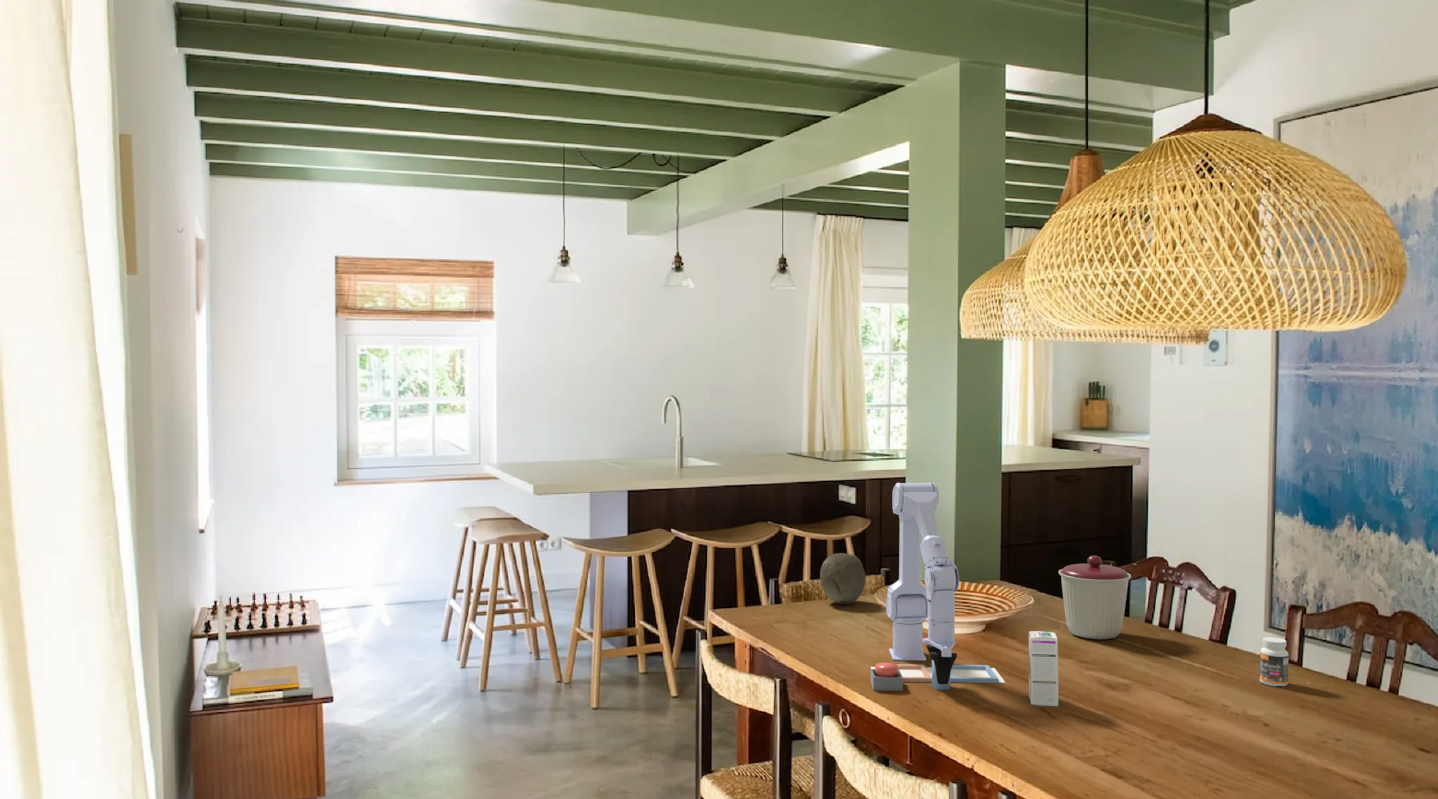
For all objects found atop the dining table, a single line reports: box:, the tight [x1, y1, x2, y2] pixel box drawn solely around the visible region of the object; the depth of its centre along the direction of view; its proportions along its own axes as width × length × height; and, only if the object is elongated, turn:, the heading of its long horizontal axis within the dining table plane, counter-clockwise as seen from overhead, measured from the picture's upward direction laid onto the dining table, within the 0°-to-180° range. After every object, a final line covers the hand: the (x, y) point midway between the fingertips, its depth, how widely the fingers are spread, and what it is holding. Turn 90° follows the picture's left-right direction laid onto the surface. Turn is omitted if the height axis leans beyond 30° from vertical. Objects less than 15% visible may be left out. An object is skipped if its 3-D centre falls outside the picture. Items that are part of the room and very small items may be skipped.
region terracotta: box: [896, 663, 932, 683], centre depth 246 cm, size 11×11×1 cm
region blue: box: [950, 664, 999, 683], centre depth 246 cm, size 11×11×1 cm
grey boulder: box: [819, 552, 867, 605], centre depth 321 cm, size 14×14×15 cm
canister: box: [1058, 555, 1132, 640], centre depth 282 cm, size 18×18×21 cm
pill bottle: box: [1259, 636, 1290, 687], centre depth 239 cm, size 6×6×10 cm
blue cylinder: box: [931, 660, 951, 691], centre depth 236 cm, size 4×4×7 cm
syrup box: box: [1028, 630, 1059, 707], centre depth 226 cm, size 6×6×14 cm
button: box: [874, 662, 898, 677], centre depth 237 cm, size 5×5×2 cm
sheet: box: [870, 666, 1006, 684], centre depth 246 cm, size 12×29×1 cm, turn 88°
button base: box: [869, 668, 904, 692], centre depth 237 cm, size 6×6×3 cm
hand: (941, 680), depth 236 cm, fingers closed on blue cylinder, 4 cm apart
